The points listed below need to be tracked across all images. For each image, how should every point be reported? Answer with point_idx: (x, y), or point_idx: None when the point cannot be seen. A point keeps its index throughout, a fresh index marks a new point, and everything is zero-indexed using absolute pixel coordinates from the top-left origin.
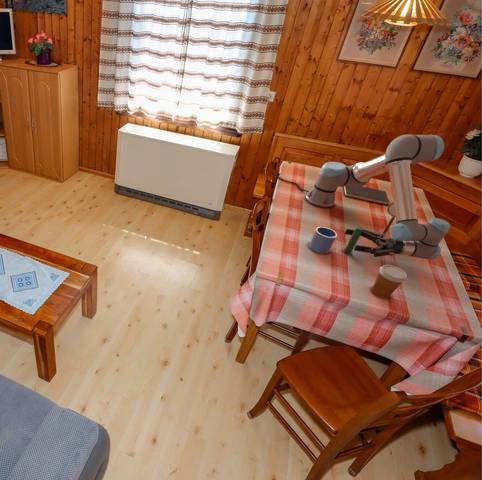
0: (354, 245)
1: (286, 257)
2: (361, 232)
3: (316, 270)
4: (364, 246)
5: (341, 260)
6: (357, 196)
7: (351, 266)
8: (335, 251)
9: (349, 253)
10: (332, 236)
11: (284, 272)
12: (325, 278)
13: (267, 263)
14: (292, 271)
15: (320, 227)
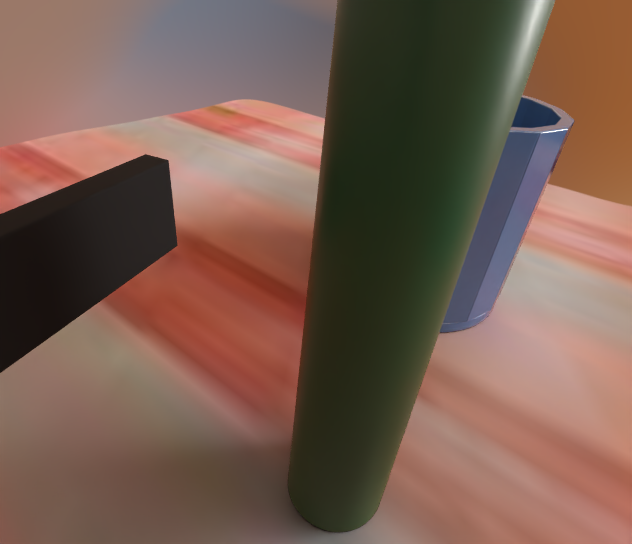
0: (299, 374)
1: (319, 148)
2: (336, 25)
3: (186, 171)
4: (51, 205)
5: (210, 321)
6: None
7: (91, 340)
8: None
9: (289, 469)
10: None
11: (227, 117)
12: None
13: (292, 113)
14: (222, 129)
15: (546, 107)
